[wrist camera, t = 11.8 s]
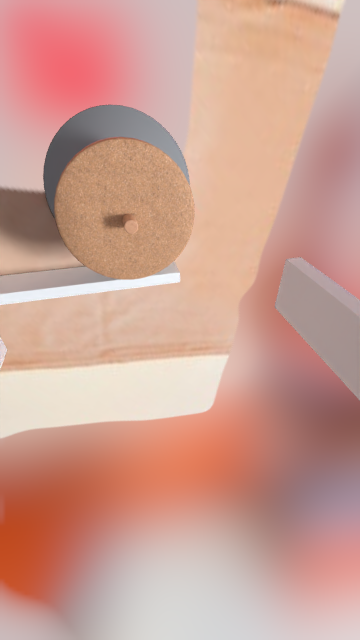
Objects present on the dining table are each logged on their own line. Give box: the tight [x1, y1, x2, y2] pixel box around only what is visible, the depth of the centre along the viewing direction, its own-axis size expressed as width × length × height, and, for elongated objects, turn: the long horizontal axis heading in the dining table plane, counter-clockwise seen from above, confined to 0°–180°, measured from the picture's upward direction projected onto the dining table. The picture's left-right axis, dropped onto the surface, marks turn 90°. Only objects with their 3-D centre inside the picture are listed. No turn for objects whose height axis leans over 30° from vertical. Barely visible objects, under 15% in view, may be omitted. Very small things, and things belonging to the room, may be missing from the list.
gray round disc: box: [43, 105, 190, 220], centre depth 28 cm, size 14×14×1 cm
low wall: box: [0, 261, 180, 305], centre depth 30 cm, size 22×1×4 cm, turn 90°
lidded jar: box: [54, 137, 194, 280], centre depth 24 cm, size 11×11×9 cm
